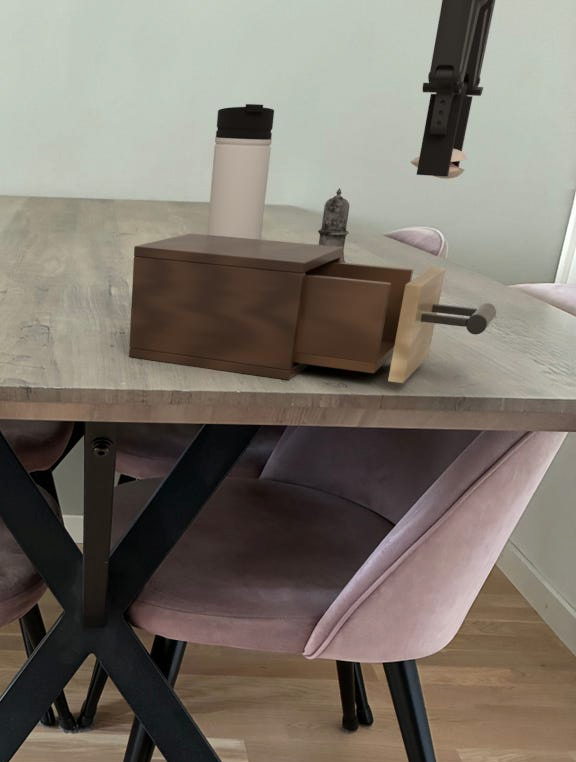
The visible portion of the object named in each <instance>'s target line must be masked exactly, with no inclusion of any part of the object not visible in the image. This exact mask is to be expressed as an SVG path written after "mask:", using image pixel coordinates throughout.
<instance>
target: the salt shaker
mask: <svg viewBox="0 0 576 762" xmlns="http://www.w3.org/2000/svg"><path fill="white" fill-rule="evenodd" d="M335 193H336V195H334V196H333V197H331V198H329V199H327V200H326V201H325V204H324V207H323V214H322V221H321V222H322V223H321V228H320V229H318V230H317V233H318V234H319V240H318V245H325V246H336V247H343V248H344V249H343V255H342V262H343V263H347V261H345V244H346V238H347V236H348V235H350V232H349V231H348V230H347V225H348V219H349V212H350V203H349V201H348V200H347V199H346V198H344V197H343V196H342V195H341V194H342V190H341V188H338V189H337V190H336V191H335Z"/></svg>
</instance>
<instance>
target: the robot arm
mask: <svg viewBox="0 0 576 762" xmlns="http://www.w3.org/2000/svg"><path fill="white" fill-rule="evenodd" d="M495 5H496V0H441V6H440V11H439V17H438V23H437V30H436V34H435V41H434V46H433V52H432V57H431V63H430V64H431V65H430V70H429V72H428V74H427V75H428V76H427V78H428V80H427V81H428V82H422V93H430V97H429V102H428V108H427V112H426V118H425V125H424V130H423V136H422V142H421V146H420V153H419V156H418V157H419V163H418V167H417V168H416V169H417V170H416V176H431V177H434V176H445V177H447V176H448V173H449V168H450V163H452V164H454V165H455V166H457V167H458V168H460V164H461V163H460V162H461V161H454V162H451V158H452V152H453V149H457V150H459V151H462V152H463V148H464V142H465V137H466V133H467V127H468V123H469V119H470V118H469V117H470V111H471V108H472V101H473V96H474V97H475V96H477V97H480V96H482V94H483V91H484V86H480V83H481V73H482V67H483V63H484V59H485V54H486V48H487V43H488V39H489V34H490V29H491V24H492V20H493V15H494V10H495Z"/></svg>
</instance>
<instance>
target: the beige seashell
mask: <svg viewBox="0 0 576 762" xmlns="http://www.w3.org/2000/svg"><path fill="white" fill-rule="evenodd" d="M419 157H420V156H417V157H415V158H413V159H411V160H410V163H411V164H412V165H413V166H415V167H416V168H418V163H419ZM466 160H468V158H467V156H466V154H465V153H464V151H463V150H462V151H459V150H457V149H453V152H452V158H451V162H454V161H460V162H461V161H466ZM464 171H465V169H464V168H462V167H461V168H460V167H459V168H458V167H457V166H455V165H454V164H452V163H450V168H449V173H448V176H447V177H445V176H433V177H435V178H438V179H446V180H449V179H454V178H458V177H459V176H461V175H462V174H464Z"/></svg>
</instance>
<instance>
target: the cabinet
mask: <svg viewBox="0 0 576 762" xmlns="http://www.w3.org/2000/svg"><path fill="white" fill-rule="evenodd" d="M343 249H344V250H345V247H344V248H343V247H336V246H325V245H319V244H313V243H303V242H291V241H290V242H289V241H279V240H269V239H261V240H258V239H247V238H236V237H225V236H214V235H207V234H201V233H191V232H190V233H185V234H182V235H178V236H173V237H168V238H165V239H160V240H156V241H151V242H147V243H144V244H138V245H135V246H134V248H133V264H132V265H133V267H132V268H133V269H132V286H131V288H132V289H131V304H130V305H131V307H130V308H131V309H130V324H129V325H130V328H129V344H128V345H129V347H128V349H129V350H128V357H129V358H133V359H141V360H149V361H156V362H162V363H169V364H177V365H184V366H190V367H195V368H201V369H203V368H204V369H210V370H216V371H217V370H218V371H222V372H223V371H224V372H230V373H237V374H243V375H244V374H245V375H252V376H256V377H257V376H258V377H264V378H272V379H279V380H286V381H290V380H291V379H293V378H294V377H295V376H296V375H298V374H299V373H301V372H302V371H304V370H305V369H306V368H308V367H309V366H311V365H310V364H303V363H295V362H294V355H295V348H296V340H297V333H298V325H299V317H300V310H301V302H302V295H303V287H304V280H305V273H304V272H307V271H309V270H311V269H314V268H316V267H319V266H321V265H323V264H326V263H328V262H330V261H332V262H342V255H343Z"/></svg>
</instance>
